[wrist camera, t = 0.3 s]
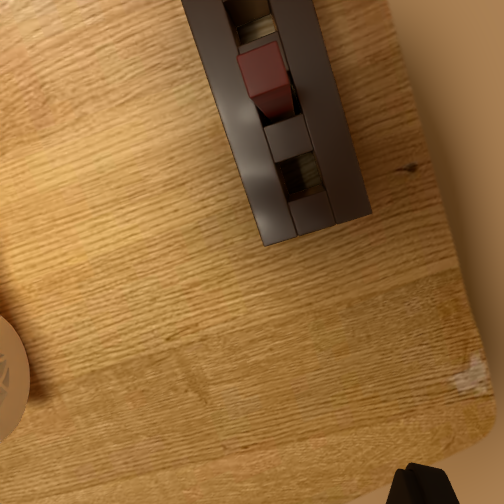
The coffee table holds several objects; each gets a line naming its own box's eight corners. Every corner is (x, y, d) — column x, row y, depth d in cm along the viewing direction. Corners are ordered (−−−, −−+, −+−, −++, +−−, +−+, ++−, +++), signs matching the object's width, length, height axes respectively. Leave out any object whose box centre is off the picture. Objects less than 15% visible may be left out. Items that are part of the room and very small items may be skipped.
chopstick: (287, 92, 29) (276, 39, 15) (295, 115, 29) (290, 83, 16) (265, 100, 29) (235, 55, 16) (272, 123, 29) (249, 99, 16)
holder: (292, -36, 27) (290, -76, 22) (361, 203, 30) (372, 213, 25) (194, 6, 28) (172, -24, 24) (269, 232, 31) (264, 247, 26)
